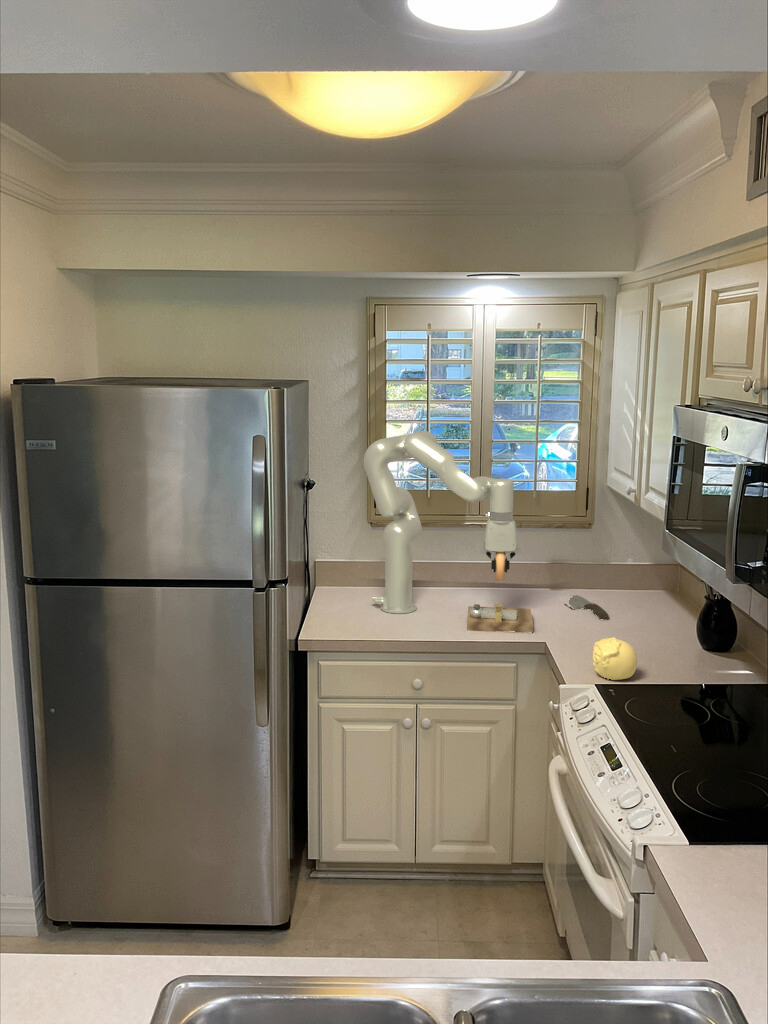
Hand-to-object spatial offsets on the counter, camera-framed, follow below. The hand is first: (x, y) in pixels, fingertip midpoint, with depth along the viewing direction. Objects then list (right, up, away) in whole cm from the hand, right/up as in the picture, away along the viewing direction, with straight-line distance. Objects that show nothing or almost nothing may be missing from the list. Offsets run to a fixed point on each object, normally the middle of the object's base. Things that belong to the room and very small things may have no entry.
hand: (500, 570), depth 275 cm
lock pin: (0, -3, 0) cm, 3 cm away
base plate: (0, -18, +2) cm, 18 cm away
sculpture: (+25, -26, -44) cm, 57 cm away
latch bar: (-3, -15, -2) cm, 15 cm away
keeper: (-1, -15, -3) cm, 16 cm away
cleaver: (+32, -15, +20) cm, 41 cm away
